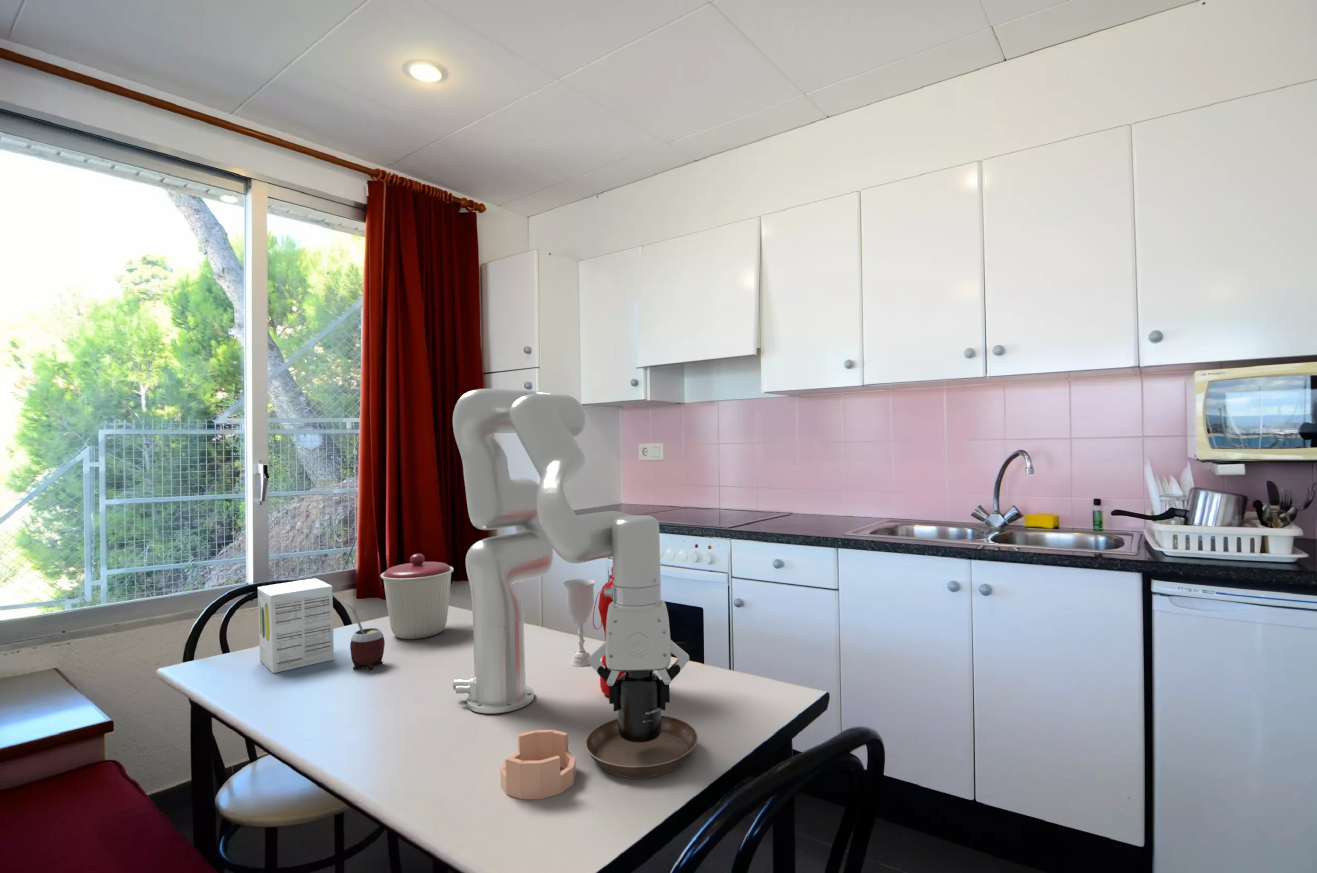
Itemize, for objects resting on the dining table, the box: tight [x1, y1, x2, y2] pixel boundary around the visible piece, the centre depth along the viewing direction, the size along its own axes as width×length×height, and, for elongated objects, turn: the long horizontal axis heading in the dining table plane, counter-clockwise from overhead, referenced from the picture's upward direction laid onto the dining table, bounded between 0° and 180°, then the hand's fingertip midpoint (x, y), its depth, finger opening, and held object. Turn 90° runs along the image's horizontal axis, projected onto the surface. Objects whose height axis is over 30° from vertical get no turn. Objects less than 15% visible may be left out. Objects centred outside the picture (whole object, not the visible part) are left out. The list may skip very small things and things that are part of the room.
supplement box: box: [257, 577, 335, 674], centre depth 157 cm, size 13×13×18 cm
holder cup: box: [499, 729, 577, 800], centre depth 98 cm, size 11×11×5 cm
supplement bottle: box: [617, 671, 662, 743], centre depth 105 cm, size 7×7×12 cm
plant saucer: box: [584, 714, 699, 779], centre depth 105 cm, size 18×18×3 cm
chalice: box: [563, 578, 596, 668], centre depth 149 cm, size 7×7×18 cm
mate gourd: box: [342, 599, 385, 672], centre depth 151 cm, size 8×8×15 cm
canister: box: [380, 553, 454, 640], centre depth 176 cm, size 18×18×21 cm
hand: (639, 706), depth 105 cm, fingers closed on supplement bottle, 6 cm apart
